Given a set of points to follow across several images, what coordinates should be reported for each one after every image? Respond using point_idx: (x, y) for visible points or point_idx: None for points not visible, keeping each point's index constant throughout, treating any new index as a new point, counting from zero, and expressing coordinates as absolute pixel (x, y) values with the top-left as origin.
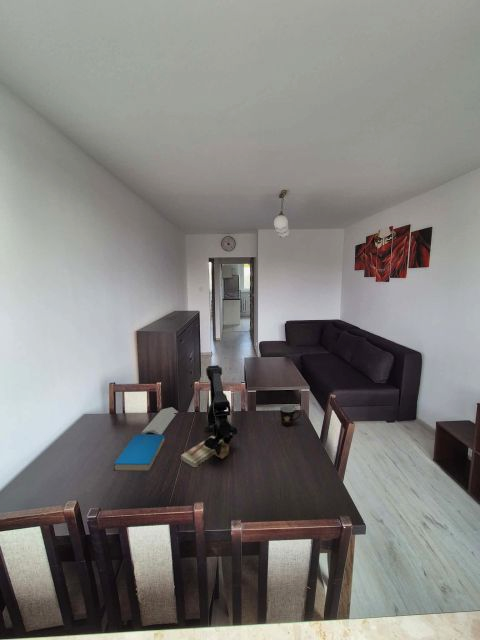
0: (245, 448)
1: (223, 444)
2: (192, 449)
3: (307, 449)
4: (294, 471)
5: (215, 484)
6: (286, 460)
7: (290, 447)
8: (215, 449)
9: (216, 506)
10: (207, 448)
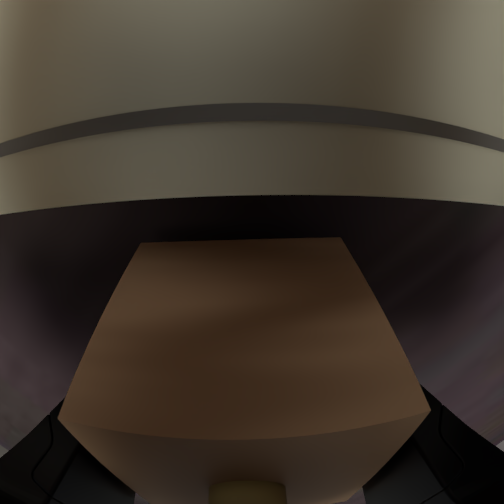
0: (475, 356)
1: (295, 492)
2: None
3: None
4: (350, 498)
5: (21, 409)
6: None
7: (488, 434)
8: (57, 428)
9: (9, 436)
10: (98, 19)
